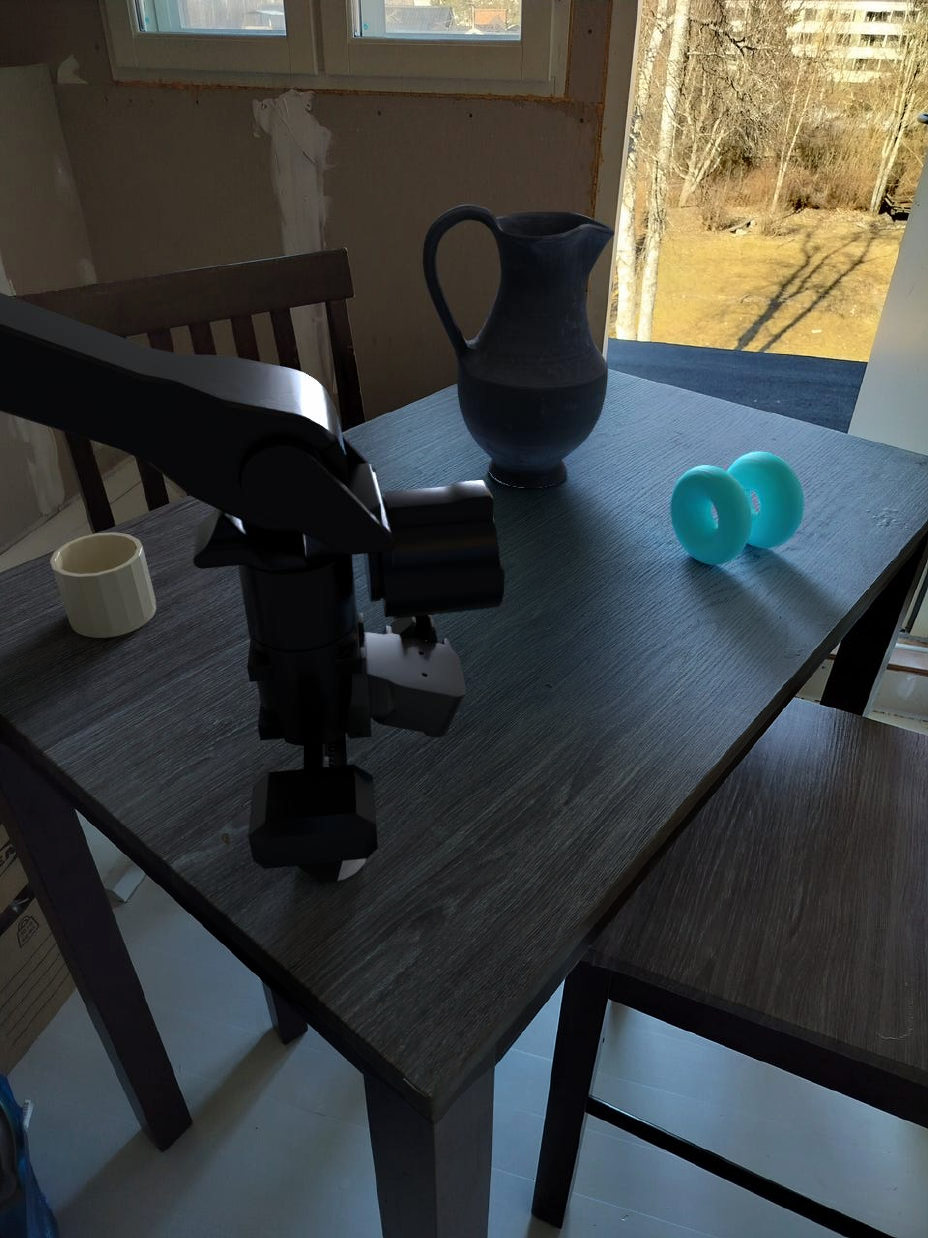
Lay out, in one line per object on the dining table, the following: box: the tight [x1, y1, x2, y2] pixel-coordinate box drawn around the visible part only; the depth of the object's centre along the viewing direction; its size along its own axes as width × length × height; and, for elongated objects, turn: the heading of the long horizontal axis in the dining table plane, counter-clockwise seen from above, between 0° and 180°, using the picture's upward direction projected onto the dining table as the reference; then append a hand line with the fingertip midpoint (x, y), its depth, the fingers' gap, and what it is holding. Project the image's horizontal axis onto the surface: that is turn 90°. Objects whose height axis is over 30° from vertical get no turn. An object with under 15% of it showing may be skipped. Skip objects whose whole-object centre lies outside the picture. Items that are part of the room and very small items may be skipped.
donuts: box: [669, 451, 805, 566], centre depth 86 cm, size 10×10×10 cm
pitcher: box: [422, 204, 615, 489], centre depth 95 cm, size 17×21×30 cm
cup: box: [49, 531, 157, 639], centre depth 77 cm, size 8×8×6 cm
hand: (328, 821), depth 54 cm, fingers open, 9 cm apart
